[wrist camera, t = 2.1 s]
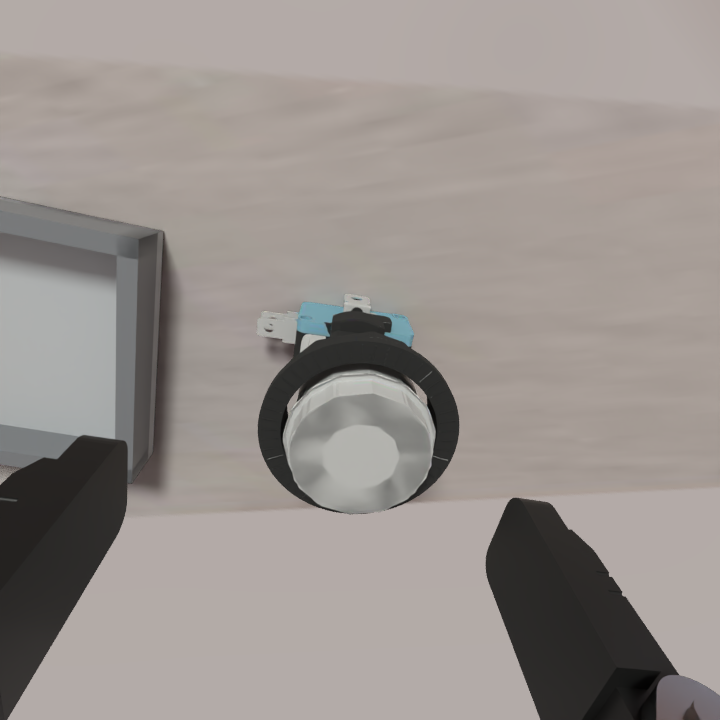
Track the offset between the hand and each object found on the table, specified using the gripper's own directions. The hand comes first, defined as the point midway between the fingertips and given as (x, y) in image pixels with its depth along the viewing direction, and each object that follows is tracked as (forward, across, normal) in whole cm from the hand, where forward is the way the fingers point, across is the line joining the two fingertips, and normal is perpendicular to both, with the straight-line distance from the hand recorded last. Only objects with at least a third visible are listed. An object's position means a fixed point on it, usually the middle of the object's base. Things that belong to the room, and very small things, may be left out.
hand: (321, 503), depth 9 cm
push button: (+12, 0, 0) cm, 12 cm away
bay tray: (+12, +12, +3) cm, 17 cm away
